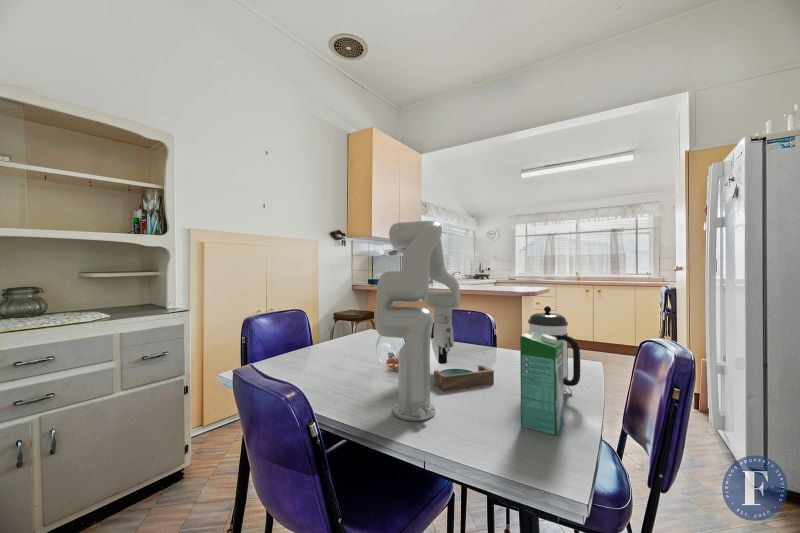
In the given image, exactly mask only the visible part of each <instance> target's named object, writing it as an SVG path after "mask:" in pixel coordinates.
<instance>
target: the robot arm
mask: <svg viewBox="0 0 800 533" xmlns="http://www.w3.org/2000/svg"><path fill="white" fill-rule="evenodd" d="M442 234H443V228H442V225H441V223H440V222H438V221H436V220H418V221H417V220H416V221H404V222H403V221H402V222H395V223H393V224H392V225H391V226H390V228H389V231H388V236H389V242H390V244H391V245H392V246H393V248H394V249H395V250H397V251H398V252H399V253H400V254H402V256H401V257H402V260H401V261H402V262H401V268H400V269H401V270H395V271H394V270H393V271H389V270H388V271H385V272H384V273H381V275H380V276H379V277H378V280H377V286H376V296H375V297H376V301H375V329H376V333H377V334H378V335H380V336H381V337H386V338H394V339H395V338H396V339H405V343H403V345H402V346H401V347H400V349H399V351H398V359H397V360H398V361H397V363H398V365H397V366H398V373H397V374H398V375H397V376H398V382H397V383H398V403H396V404H395V405H394V406H393V411H392V412H393V414H394V416H396V417H397V418H399V419H400V420H401V419H402V420H405V421H409V422H410V421H412V422H418V421H425V420H428V419H430V418H433V417H434V416H435V415H436V407H435V406H434V404H432V403H431V341H432V340H431V338H432V332H433V344H434V345H435V347H436V348H437V353H438V354H437V356H438V357H437V358H438V359H437V361H438V364H439V365H444V364H447V363H448V352H451V348H453V347H454V345H455V344H454V342H455V341H454V338H455V337H454V327H453V319H452V318H453V316H452V314H453V310H456V309H458V308H459V307H460V306H461V302H462V301H461V292H460V291H461V290H460V284H459V281H458V279H456V277H455V276H454V275H453V273H452V272H451V271H449V270H448V269H447V268H446V267H445V257H444V252H443V246H442V239H441V237H442ZM430 279H431V280H432V281H436V282H438V283H440V284H442V285H444V286H446V287H448V289H429V288H430ZM397 302H398V303H421V302H423V303H424V305H425V306H426V307H427V308H425V307H421V306H420V307H419V306H401V305H400V306H399V305H397V306H396V305H394V304H395V303H397ZM428 308H429V309H433V314H432V312H431V311H430V310H429V309H428Z"/></svg>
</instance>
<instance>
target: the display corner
mask: <svg viewBox="0 0 800 533" xmlns="http://www.w3.org/2000/svg"><path fill="white" fill-rule="evenodd" d="M494 373H495V370H493V369H491V368H489V367H487V366H484V365H482V364H478V365H477V371H473V372H468V373H461V374H453V375H444V374H443V373H441V372H440V371H439V370H433V385H434V386H436V387H437V388H438V389H440V390H442V392H449V391H455V390H462V389H471V388H478V387H483V386H490V385H494V384H495V380H494V379H495V378H494V376H495V374H494Z"/></svg>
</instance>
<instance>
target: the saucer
mask: <svg viewBox="0 0 800 533" xmlns="http://www.w3.org/2000/svg"><path fill="white" fill-rule="evenodd" d="M439 372H441V373H443V374H444V375H453V374H461V373H468V372H474V371H472V370H469V369H463V368H446V369H442V370H440V371H439Z"/></svg>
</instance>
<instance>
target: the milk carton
mask: <svg viewBox="0 0 800 533" xmlns="http://www.w3.org/2000/svg"><path fill="white" fill-rule="evenodd" d="M519 339H520V341H519V345H520V346H519V347H520V426H521V427H524V428H527V429H530V430H535V431H537V432H542V433H545V434H549V435H552V436H553V435H554V436H558V434H559V432H560V429H562V426H563V425H564V421H565V419H564V415H565V414H564V413H565V412H564V391H563V342H562V341H559V340H557V338H555V337H553V336H551V335H547V334H539V333H536V332H533V331H529V330H528V331H526V332H524V333H523V334H521V335H520V337H519Z"/></svg>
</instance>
